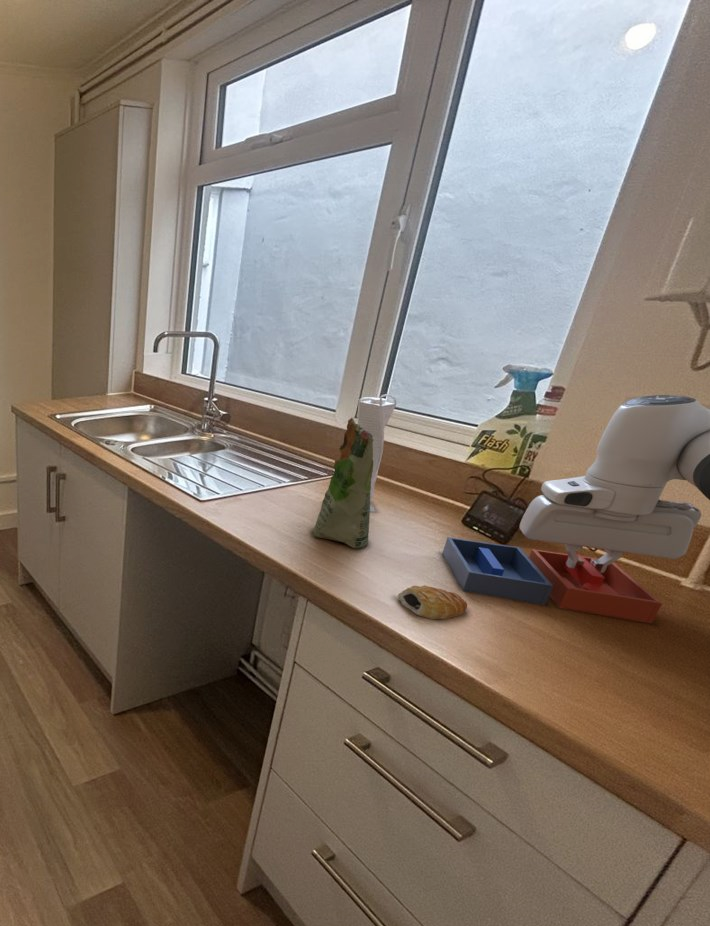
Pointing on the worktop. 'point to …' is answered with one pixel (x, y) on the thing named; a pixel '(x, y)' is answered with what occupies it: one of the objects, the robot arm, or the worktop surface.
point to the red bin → (570, 594)
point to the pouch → (349, 491)
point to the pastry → (432, 602)
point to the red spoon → (589, 577)
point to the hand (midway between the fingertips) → (583, 569)
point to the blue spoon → (488, 562)
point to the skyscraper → (375, 428)
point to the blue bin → (514, 583)
